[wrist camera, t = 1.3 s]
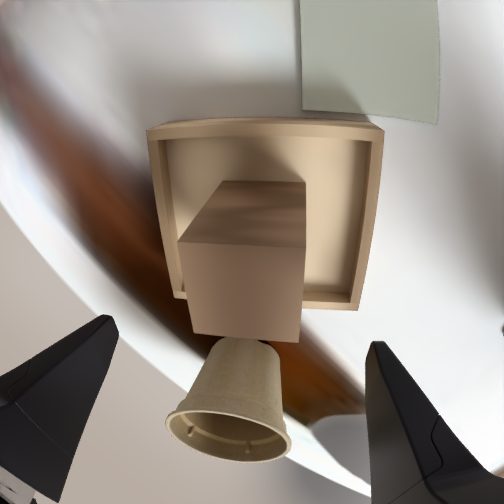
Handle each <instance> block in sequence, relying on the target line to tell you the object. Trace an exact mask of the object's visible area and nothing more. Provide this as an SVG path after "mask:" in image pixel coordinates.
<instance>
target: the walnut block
mask: <svg viewBox="0 0 504 504" xmlns="http://www.w3.org/2000/svg"><path fill="white" fill-rule="evenodd" d="M177 247H178V253H179V258H180V264H181V270H182V275H183V281H184V286H185V291H186V296H187V301H188V306H189V311H190V316H191V321H192V326H193V330H194V333H199V334H207V335H216V336H225V337H235V338H245V339H256V340H268V341H282V342H297V343H298V342H299V332H300V321H301V310H302V298H303V286H304V273H305V259H306V182H282V181H229V180H223V181H222V182H221V184H220V185H219V186H218V187H217V189H216V190H215V191H214V193H213V194H212V195H211V197H210V198H209V199H208V200H207V202H206V203H205V204H204V206H203V207H202V208H201V210H200V211H199V212H198V214H197V215H196V216H195V218H194V219H193V220H192V222H191V223H190V225H189V226H188V227H187V229H186V230H185V231H184V233H183V234H182V235H181V237H180V238H179V240H178V241H177Z"/></svg>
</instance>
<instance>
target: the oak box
mask: <svg viewBox="0 0 504 504" xmlns="http://www.w3.org/2000/svg"><path fill="white" fill-rule="evenodd" d="M146 132H147V141H148V149H149V157H150V165H151V172H152V179H153V186H154V193H155V199H156V205H157V212H158V218H159V223H160V229H161V235H162V240H163V245H164V251H165V256H166V261H167V266H168V271H169V276H170V280H171V285H172V290H173V294H174V298H180V299H187V296H186V291H185V286H184V281H183V275H182V270H181V264H180V258H179V253H178V247H177V241H178V240H179V238H180V237H181V235H182V234H183V233H184V231H185V230H186V229H187V227H188V226H189V225H190V223H191V222H192V220H193V219H194V218H195V216H196V215H197V214H198V212H199V211H200V210H201V208H202V207H203V206H204V204H205V203H206V202H207V200H208V199H209V198H210V197H211V195H212V194H213V193H214V191H215V190H216V189H217V187H218V186H219V185H220V184H221V182H222V181H223V180H229V181H282V182H306V259H305V273H304V286H303V298H302V308H306V309H326V310H351V311H358V308H359V303H360V299H361V294H362V289H363V284H364V279H365V274H366V269H367V264H368V259H369V253H370V247H371V241H372V235H373V229H374V222H375V216H376V209H377V201H378V193H379V185H380V176H381V167H382V156H383V144H384V130H382V129H381V128H379V127H378V126H376V125H374V124H373V123H368V122H358V121H347V120H333V119H316V118H286V117H246V118H217V119H200V120H186V121H174V122H167V123H164V124H162V125H159V126H156V127H154V128H151V129H148V130H146Z"/></svg>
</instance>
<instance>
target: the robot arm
mask: <svg viewBox="0 0 504 504" xmlns="http://www.w3.org/2000/svg"><path fill="white" fill-rule="evenodd" d="M503 335H504V334H503ZM118 338H119V332H118V329H117V326H116V324H115V321H114V319H113V317H112V316H109V315H104V314H103V315H100V316H98V317H97V318H95V319H94V320H92V321H90V322H89V323H87V324H85V325H84V326H82V327H80V328H79V329H77V330H76V331H74V332H72V333H71V334H69V335H68V336H66V337H64V338H63V339H61V340H59V341H58V342H56V343H55V344H53V345H51V346H50V347H48V348H47V349H45V350H43V351H42V352H40V353H39V354H37V355H36V356H34V357H32V359H29V360H28V361H26V362H24V363H23V364H21V365H20V366H18V367H16V368H15V369H13V370H11V371H9V372H7V373H6V374H4V375H2V376H0V504H37V503H36V500H35V499H34V498H33V496H34V494H35V492H36V491H38V492H40V493H41V494H43V495H44V496H46V497H48V498H50V499H51V500H53V501H55V502H57V503H58V502H59V500H60V498H61V494H62V491H63V488H64V485H65V482H66V479H67V476H68V472H69V470H70V467H71V464H72V461H73V458H74V455H75V452H76V449H77V447H78V444H79V441H80V439H81V436H82V433H83V431H84V428H85V425H86V423H87V420H88V417H89V415H90V412H91V410H92V408H93V405H94V403H95V400H96V398H97V395H98V393H99V391H100V388H101V386H102V383H103V381H104V379H105V376H106V374H107V371H108V369H109V366H110V363H111V359H112V356H113V353H114V350H115V347H116V344H117V341H118ZM365 406H366V418H367V428H368V441H369V455H370V472H371V500H372V504H504V478H501V477H498V476H495V475H493V474H491V473H490V472H488V471H487V470H486V469H485V468H484V467H483V466H482V465H481V464H480V463H479V462H478V461H477V459H476V458H475V457H474V456H473V455H472V454H471V453H470V452H469V450H468V449H467V448H466V447H465V446H464V445H463V444H462V443H461V441H460V440H459V439H458V438H457V437H456V435H455V434H454V433H453V432H452V430H451V429H450V428H449V426H448V425H447V424H446V423H445V421H444V420H443V418H442V417H441V416H440V415H439V413H438V412H437V410H436V409H435V407H434V406H433V405H432V403H431V402H430V401H429V399H428V398H427V397H426V395H425V394H424V392H423V391H422V390H421V388H420V387H419V386H418V384H417V383H416V382H415V380H414V379H413V378H412V376H411V375H410V374H409V373H408V371H407V370H406V369H405V367H404V366H403V365H402V363H401V362H400V361H399V359H398V358H397V357H396V356H395V354H394V353H393V352H392V350H391V349H390V348H389V347H388V345H387V344H386V343H385V342H384V341H372V343H371V345H370V348H369V351H368V354H367V357H366V363H365Z"/></svg>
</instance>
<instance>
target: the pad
mask: <svg viewBox="0 0 504 504" xmlns="http://www.w3.org/2000/svg"><path fill="white" fill-rule="evenodd" d="M300 20H301V51H302V110H314V111H332V112H346V113H357V114H367V115H376V116H385V117H393V118H400V119H407V120H413V121H419V122H425V123H431V124H436V125H437V121H438V107H439V87H440V40H439V20H438V8H437V0H300Z"/></svg>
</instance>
